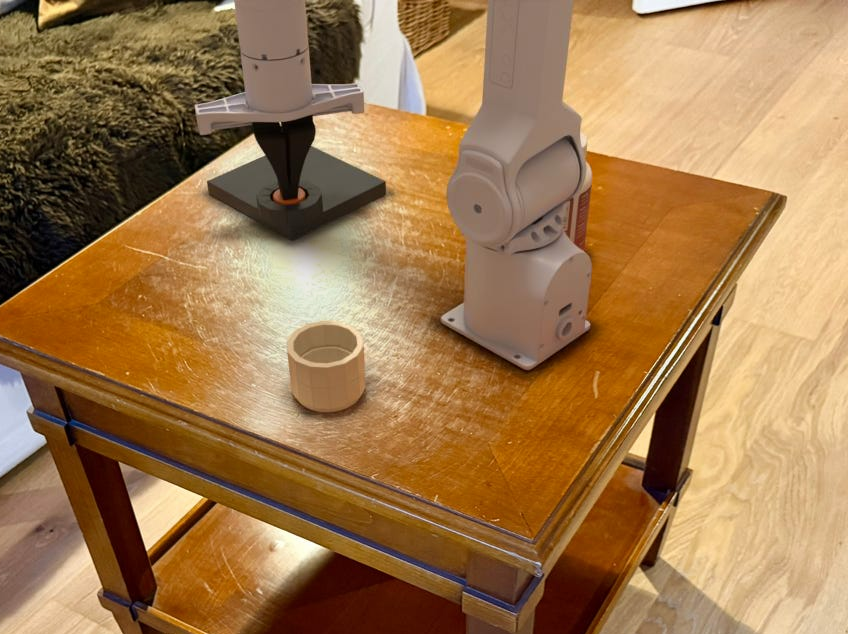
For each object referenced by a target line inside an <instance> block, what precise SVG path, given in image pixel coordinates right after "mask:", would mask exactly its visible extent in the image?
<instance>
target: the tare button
mask: <svg viewBox="0 0 848 634" xmlns="http://www.w3.org/2000/svg"><path fill="white" fill-rule="evenodd" d="M304 200H306V196H305V192H304V190H302V189H301V188H299V189H298V198H297V199H290V200H283V198H282V196H281V193H280V189H278V190H277V191H275V192H274V194H273V202H275V203H277V204H281V205H293V204H298V203H300V202H302V201H304Z"/></svg>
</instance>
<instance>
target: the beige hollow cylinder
mask: <svg viewBox="0 0 848 634" xmlns="http://www.w3.org/2000/svg"><path fill="white" fill-rule="evenodd" d="M286 354H287V362H288V370H289V380H290V389H291V394H292V395H293V396H294V398H295V399H296V400H297V401H298V403H300V404H301V405H302V406H303V407H305V408H306V409H308V410H311V411H314V412H319V413H334V412H335V413H336V412H339V411H343V410H346V409H348V408H350V407H352V406H353V405H355V404H356V403H357V402H358V401H359V400H360V398H361V397H362V394H363V393H364V392H365V390H366V387H367V382H366V381H367V379H366V361H365V359H366V358H365V344H364V336H363V334H362V333H361V332H360V331H359V330H358V329H357V328H356V327H355V326H353V325H350V324H347V323H345V322H343V321H338V320H337V321H336V320H320V321H315V322H311V323H306V324H304V325H302V326H301V327H299V328H297V329H295V330H294V331H293V332H292V333H291V334H290V337H289V338H288V339H287V341H286Z"/></svg>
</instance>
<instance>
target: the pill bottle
mask: <svg viewBox="0 0 848 634" xmlns="http://www.w3.org/2000/svg"><path fill="white" fill-rule="evenodd" d="M580 140H581V145H582V149H583V152H584V155H585V157H586V156H587V154H588V138H587V136H586V135H585V134H584V133H583V132H582V131H580ZM592 185H593V170H592V168H591V166H590V164H589V163H588V162H587V161H586V178H585V181H584V184H583V186H582V188H581V189H580V191H579V192H578V193H577V194H576V195H575V196H574V197H572V198H571V199H569V200H567V209H566V216H565V217H563V229H564V231H565V233H566V235H567V236H568V238H569V239H570V240H571V241H572V242H573V243H574V244H575V245H576V246H577V247H578V248H580V249H581V250H583V251H584V252H585V248H586V237H587V229H588V221H589V213H590V212H589V211H590V203H591V202H590V201H591V194H592Z"/></svg>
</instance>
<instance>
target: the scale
mask: <svg viewBox="0 0 848 634" xmlns="http://www.w3.org/2000/svg"><path fill="white" fill-rule="evenodd" d="M206 185H207V193H208V194H209V195H210V196H211V197H213V198H216V199H217V200H218V201H221V202H222V203H225V204H226V205H228V206H230V207H232V209H235V210H237V211H239V212H240V213H242V214H243V215H246V216H247V217H249V218H251V219H253V220H255V221H257V222H258V223H260V224H262V225H263V226H265V227H267V228H268V229H270V230H273V231H274V232H276V233H277V234H280V235H281V236H283V237H285V238H287V239H288V240H290V241H292V242H294V241H296V240H298V239H300V238H301V237H304V236H306V235H307V234H310V233H312V232H313V231H315V230H318V229H319V228H322V227H324V226H326V225H327V224H330V223H332V222H334V221H335V220H337V219H340V218H341V217H344V216H345V215H348V214H350V213H351V212H353V211H356V210H357V209H359V208H362V207H363V206H365V205H367V204H369V203H371V202H373V201H376V200H377V199H379V198H381V197H384V196H385V195H386V194H387V181H386V180H384V179H382V178H380V177H378V176H376V175H374V174H371V173H369V172H368V171H365V170H363V169H361V168H359V167H358V166H357V167H356V166H354V165H353V164H350V163H348V162H347V161H344V160H341V159H340V158H337V157H335V156H333V155H332V154H330V153H327V152H325V151H323V150H321V149H319V148H317V147H315V146H312V145H311V147H310V149H309V152H308V154H307V156H306V159H305V162H304V165H303V169H302V173H301V177H300V182H299V188H301V189H302V190H304V192H305V196H306V200H304V201H302V202H300V203H298V204H293V205H281V204H277V203H275V202H273V194H274V192H275V191H277V190H278V189H279V184H278V180H277V177H276V174H275V172H274V170H273V168H272V166H271V164H270V162H269V160H268V159H267V157H266V155H265V154H264V155H262V156H260V157H257V158H256V159H253V160H251V161H248V162H247V163H244V164H243V165H240V166H238V167H236V168H233V169H231V170H229V171H227V172H223V173H222V174H220V175H217V176H215V177H213V178H210V179H209V180H206Z"/></svg>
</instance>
